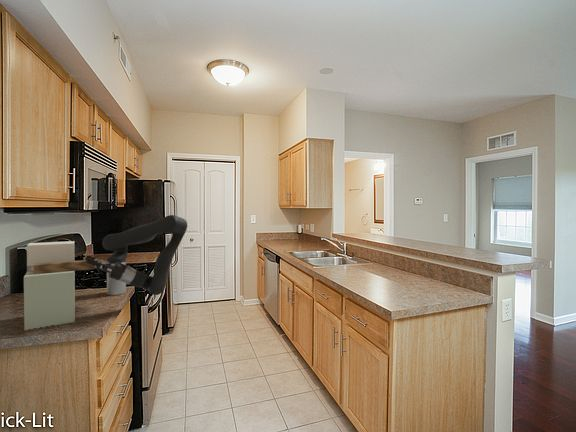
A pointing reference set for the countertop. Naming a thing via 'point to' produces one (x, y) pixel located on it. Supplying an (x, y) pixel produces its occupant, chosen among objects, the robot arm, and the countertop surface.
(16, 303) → the countertop surface
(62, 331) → the countertop surface
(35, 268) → the walnut block
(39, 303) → the stepped stand
